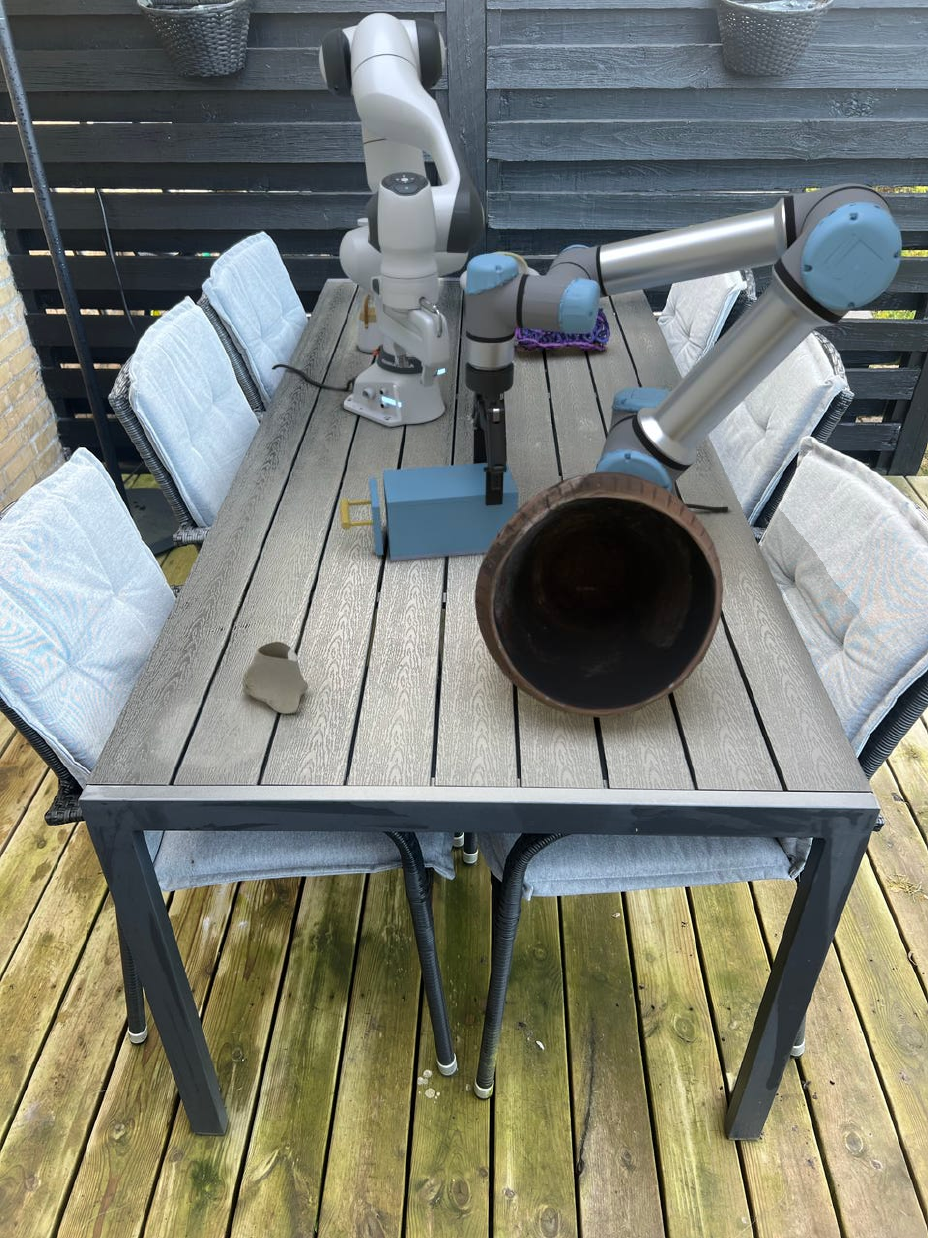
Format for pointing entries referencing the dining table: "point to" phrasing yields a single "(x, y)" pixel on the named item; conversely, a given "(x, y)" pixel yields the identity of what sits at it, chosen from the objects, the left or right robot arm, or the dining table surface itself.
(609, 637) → the pot
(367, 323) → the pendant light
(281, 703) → the grey flared pouch
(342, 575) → the dining table surface
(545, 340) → the purple fibrous block
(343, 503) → the drawer
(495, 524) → the blue open box
